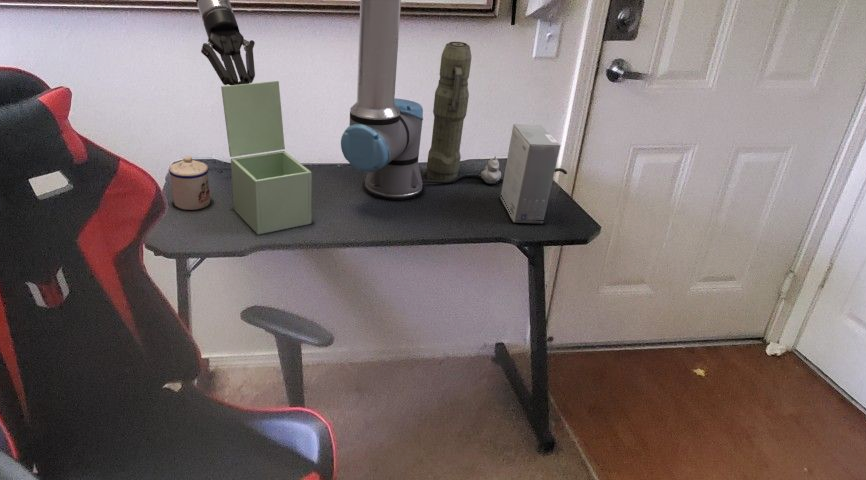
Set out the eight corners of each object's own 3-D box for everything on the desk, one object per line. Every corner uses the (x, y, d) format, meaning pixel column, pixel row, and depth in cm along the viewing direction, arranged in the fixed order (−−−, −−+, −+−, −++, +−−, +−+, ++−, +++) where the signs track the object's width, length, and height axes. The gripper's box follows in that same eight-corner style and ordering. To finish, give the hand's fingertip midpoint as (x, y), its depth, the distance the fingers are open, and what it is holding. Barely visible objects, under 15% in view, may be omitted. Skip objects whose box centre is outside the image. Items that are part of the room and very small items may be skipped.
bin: (311, 223, 156) (311, 172, 149) (257, 234, 150) (255, 181, 143) (285, 200, 167) (284, 150, 159) (233, 209, 160) (230, 158, 153)
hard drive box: (543, 224, 163) (561, 145, 152) (513, 224, 162) (528, 144, 151) (527, 198, 176) (542, 123, 164) (498, 198, 175) (512, 122, 164)
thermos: (451, 168, 190) (468, 38, 171) (463, 184, 181) (482, 49, 161) (421, 169, 189) (434, 38, 169) (431, 185, 180) (447, 48, 160)
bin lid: (278, 81, 152) (277, 80, 153) (222, 86, 146) (220, 86, 147) (284, 149, 159) (283, 148, 159) (230, 157, 153) (229, 156, 153)
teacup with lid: (207, 212, 159) (202, 165, 152) (168, 210, 158) (162, 163, 152) (217, 192, 168) (213, 147, 162) (181, 190, 168) (175, 145, 162)
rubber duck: (484, 187, 180) (489, 159, 176) (476, 178, 186) (480, 150, 181) (503, 186, 181) (508, 158, 177) (494, 177, 187) (499, 149, 182)
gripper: (241, 26, 162) (270, 114, 160) (188, 29, 156) (219, 120, 154) (248, 6, 155) (279, 98, 153) (194, 8, 150) (225, 104, 148)
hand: (249, 109), depth 154 cm, fingers closed
